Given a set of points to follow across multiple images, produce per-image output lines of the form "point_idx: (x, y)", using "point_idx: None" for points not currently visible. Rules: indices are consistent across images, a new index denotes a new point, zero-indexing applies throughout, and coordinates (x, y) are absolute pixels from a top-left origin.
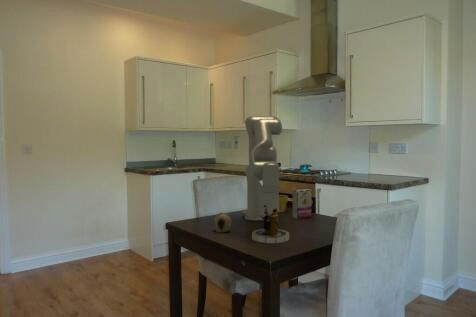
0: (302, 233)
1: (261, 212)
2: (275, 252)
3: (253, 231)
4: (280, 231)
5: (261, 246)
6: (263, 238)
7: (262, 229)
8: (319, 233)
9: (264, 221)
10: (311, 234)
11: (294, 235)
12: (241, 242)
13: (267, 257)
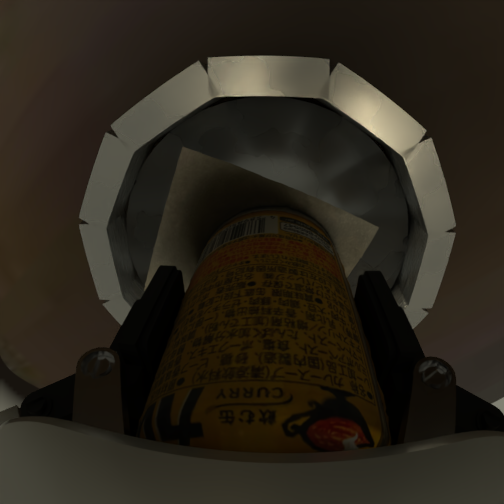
0: (478, 346)
1: (1, 447)
2: (60, 367)
3: (215, 64)
4: (408, 292)
5: (57, 286)
6: (98, 281)
7: (378, 110)
8: (481, 390)
9: (108, 357)
10: (462, 380)
11: (427, 338)
12: (23, 126)
13: (11, 356)
